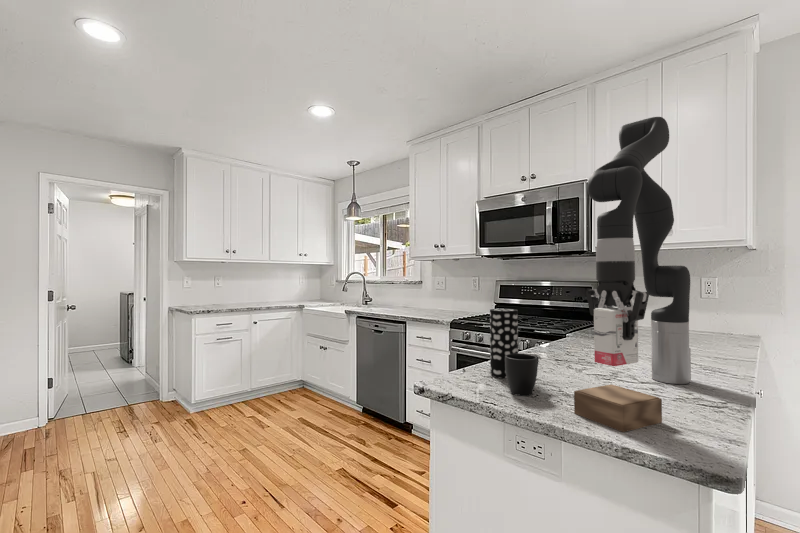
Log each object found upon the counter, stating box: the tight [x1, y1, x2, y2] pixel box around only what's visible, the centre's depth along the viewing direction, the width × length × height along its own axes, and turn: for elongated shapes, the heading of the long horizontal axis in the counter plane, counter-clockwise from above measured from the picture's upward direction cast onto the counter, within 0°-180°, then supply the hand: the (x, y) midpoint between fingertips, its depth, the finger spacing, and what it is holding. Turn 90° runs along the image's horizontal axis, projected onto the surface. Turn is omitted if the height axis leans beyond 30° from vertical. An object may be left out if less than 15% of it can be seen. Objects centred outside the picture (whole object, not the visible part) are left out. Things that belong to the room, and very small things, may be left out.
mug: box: [505, 353, 539, 397], centre depth 110 cm, size 8×12×10 cm
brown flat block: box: [573, 383, 663, 433], centre depth 90 cm, size 12×12×5 cm
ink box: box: [593, 306, 639, 367], centre depth 90 cm, size 9×5×12 cm, turn 116°
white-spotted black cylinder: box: [489, 308, 519, 380], centre depth 127 cm, size 8×8×20 cm
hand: (615, 337), depth 90 cm, fingers closed on ink box, 5 cm apart
